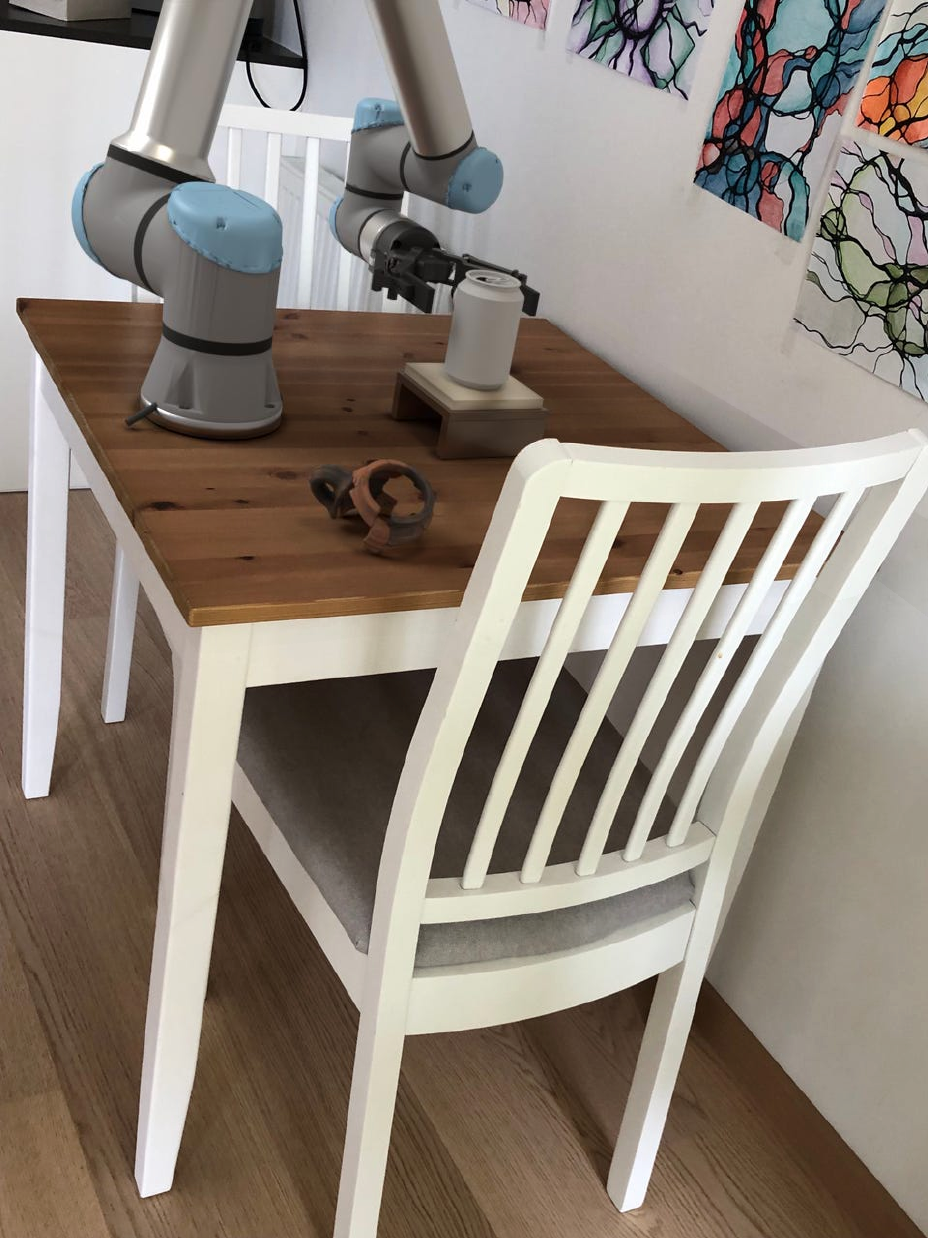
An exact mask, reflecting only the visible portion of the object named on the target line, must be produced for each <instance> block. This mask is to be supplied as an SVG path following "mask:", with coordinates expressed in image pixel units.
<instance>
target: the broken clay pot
mask: <svg viewBox="0 0 928 1238" xmlns="http://www.w3.org/2000/svg"><path fill="white" fill-rule="evenodd" d="M403 476H405V477H406V478H408V479H409V480H410V481H411V482H412V483H413V487H415V488H416V489H417V490H418V491H420V492H421V494H422V495H423V498H424V499H423V500H424V505H423V508H422V510H420V511H419V512H418V513H415V514H412V515H409V516H404V515H396V514H392V513H393V511H394V509H395V507H396V506H397V505H398V503H399V499H398V498H397V497H396V496H394V495H392V494H390V493H389V492H388V491H386V490H384V486H385V485H386V483H387V482H389V480H390V479H398V478H401V477H403ZM308 482H309V487H310V490H311V493H312V494H313V496H314V497H315V498H316V500H317V501H318V502H319V504H321V505H322V506H324V508H326V510H327V512H328V514H329V517H330V518H331V520H336V519H337V517H338V516H339V517H343V516H344V515H346V513H348V512H350V511H352V510H355V509H356V510H357V512H358V513H359V515H360V516H361V518H362V519H363V521H364V522H365V523H366V524H367V525H368V526H369V527H370V528H369V531H368V534H367V535H366V537H364V538H363V540H362V547H363V548H364V549H366V550H367V551H369V552H371V553H372V554H378V553H379V552H380V551H383V550H384V549H385V547H386V546H387V547H388V548H393V547H397V546H400V545H403V544H406V543H409V542H412V541H415V540H416V539H418V538H420V537H422V536H423V535H424V531H428V529H429V528H430V526H431V523H432V521H433V517H434V515H435V512H434V507H435V503H436V498H435V496H436V495H435V492H434V489H433V487H432V485H431V482H430V481H429V479H428V478H427V476H425V475H424V474H423V473H422V472H421V471H420V470H419V469H417V468H416V467H414V466H412V465H411V464H408V463H405V462H403V461H401V460H396V459H389V458H388V459H385V458H383V459H378V460H375V461H372V462H371V463H369V464H368V465H366V466H363V467H361V468H359V469H356V470H353V471H351V470H347V469H345V468H344V467H341V466H340V465H337V464H330V463H324V464H320V465H318V466H317V467H314V470H313V471H312V472H311V473H310V475H309V477H308ZM328 485H329V486H330V487H331V488H332V489H333V490H331V489H330V487H328ZM380 512H381V513H383V514H385V515H386V516H390V518H389V522H386V520H383V519H381V518H380V516H379V513H380Z"/></svg>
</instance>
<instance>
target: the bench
mask: <svg viewBox="0 0 928 1238" xmlns="http://www.w3.org/2000/svg"><path fill="white" fill-rule="evenodd" d="M444 364H445V362H406V363H405V365H404V366H405V367H404V370H397V372H396V379H395V385H394V386H395V387H394V392H393V397H392V400H393V401H392V405H391V411H390V412H391V413H390V416H391V417H392V418H393V419H395V421H396V420H398V421H399V420H437V419H439V420H440V419H441V425H440V430H439V436H438V442H437V447H436V455H435V456H437V457H438V458H439V459H441V460H458V459H482V458H503V457H504V458H505V457H507V458H508V457H517V456H516V455H517V454H518V452H519V451H520V450H521V449H523V448H524V447H525V446H527V445H528V444H530V443H533V442H535V441H537V440H539V439H542V440H543V439H544V434H545V430H546V425H547V420H548V416H549V412H550V410H549V409H547V408H546V407H544V406H543V405H544V402H545V401H544V400H545V399H544V398H543V397H542V396H540V395H539V394H537V392H535V391H533V390H532V389H530V388H529V387H528V386H526V385H525V384H524V383H522V382H521V381H519V380H517V379H516V378H515V377H513V376H512V375H510V374H509V378H508V381H506V382H505V383H503V384H502V385H500V386H499V387H498V388H495V389H476V388H470V387H467V386H463V385H461V384H458V383H456V382H454V381H453V380H451V378H450V377H449V375H448V373H447V372H446V371H445V370H444Z"/></svg>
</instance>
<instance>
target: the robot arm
mask: <svg viewBox="0 0 928 1238" xmlns="http://www.w3.org/2000/svg"><path fill="white" fill-rule="evenodd" d="M363 2H364V4H365V8H366V11H367V14H368V18H369V21H370V23H371V26H372V29H373V32H374V36H375V38H376V41H377V44H378V48H379V51H380V54H381V57H382V61H383V63H384V66H385V69H386V73H387V75H388V78H389V81H390V85H391V87H392V91H393V94H394V97H395V100H392V99H387V98H380V97H364V98H361V99H360V100H358V102H357V104H356V107H355V113H354V118H353V124H352V129H351V130H350V142H349V143H350V144H349V153H348V161H347V162H348V163H347V171H346V179H345V180H346V181H345V186H344V190H343V193H342V194H341V195H339V196H338V197H337V198H336V200H335V201H334V203H333V204H332V206H331V208H330V210H329V214H328V225H329V229H330V233H331V234H332V236H333V238H334V239H335V240H336V242H337V243H338V244H340V245H341V247H342V248H343V250H345V251H347V252H348V253H349V254H351V255H353V256H354V257H358V258H359V259H360V260H361V261H363V262H364V263H366V264H367V265H368V268H367V269H368V271H369V272H370V273H371V274H372V277H371V284H370V285H371V286H370V290H371V291H373V292H376V293H378V292H382V290H383V289H387V293H386V299H387V300H390V301H397V300H398V297H399V296H400V297H401V298H402V299H404V300H405V301H407V302H408V303H410V304H411V305H413V307H415V308H417V309H418V310H419V311H420V312H422V313H423V314H425V315H432V312H433V308H434V307H433V306H434V302H435V301H434V300H435V294H436V288H435V287H433V286H431V285H430V284H428V283H431V284H434V285H437V284H441V285H445V286H448V287H453V288H458V284H459V283H461V282H462V281H463V280H464V279H466V272H468V271H470V270H487V271H494V272H499V273H503V274H506V275H509V276H512V277H514V278H516V279H518V280H519V281H520V282H521V286H520V287H519V289H520V291H521V292H522V294H523V296H524V302H523V307H522V312H521V313H524V315H527V316H528V317H532V318H533V317H534V318H535V317H537V312H538V307H539V302H540V297H541V293H540V292H539V291H537V290H536V289H534V288H532V287H530V286H528V285H527V281H528V275H527V274H525V273H521V272H520V270H519V269H516V268H515V269H513V270H512V269H509V268H506V267H503V266H500V265H497V264H494V263H492V262H489V261H485V260H483V259H479V258H478V257H475V256H473V255H472V254H470V253H462V255H461V256H460V255H457V254H453V253H449V252H447V251H446V249H442V247H441V244H440V241H439V240H438V237H437V236H436V235H435V234H434V233H433V231H431V230H429V229H428V228H426V227H424V226H423V225H421V224H420V223H417V222H416V220H414V219H412V218H410V217H408V216H406V215H405V214H404V213H402V207H403V200H404V197H405V192H407V193H410V194H413V195H415V196H418V197H420V198H423V199H426V200H428V201H431V202H433V203H436V204H438V205H441V206H444V207H447V209H450V210H454V211H460V212H463V213H466V214H467V213H468V214H472V215H478V214H482V213H485V212H486V211H487V210H488V209H490V208H491V207H492V205H494V204H495V202H496V201H497V200H498V198H499V196H500V194H501V192H502V188H503V185H504V174H505V173H504V165H503V163H502V161H501V158H499V157H498V155H497V154H496V153H494V152H493V151H491V150H489V149H487V147H484V146H479V145H478V142H477V138H476V135H475V130H474V129H473V123H472V119H471V117H470V113H469V108H468V105H467V101H466V97H465V93H464V90H463V87H462V82H461V80H460V76H459V73H458V68H457V64H456V62H455V58H454V54H453V50H452V47H451V43H450V39H449V35H448V32H447V27H446V24H445V20H444V17H443V13H442V9H441V6H440V2H439V0H363ZM253 3H254V0H163V2H162V6H161V10H160V13H159V18H158V21H157V24H156V28H155V32H154V35H153V40H152V44H151V47H150V51H149V53H148V58H147V62H146V65H145V69H144V73H143V76H142V80H141V83H140V87H139V92H138V95H137V98H136V102H135V106H134V109H133V114H132V117H131V122H130V125H129V127H128V130H127V131H125V132H124V133H121V134H120V135H118V136H116V137H114V138H111V140H110V142H109V145H108V149H107V153H106V156H105V159H104V161H102V162H100V163H97V164H95V165H93V166H92V169H91V170H89V171H86V172H85V173H84V174H83V175H82V176H81V178H80V179H79V181H78V182H77V185H76V186H75V189H74V192H73V196H72V200H71V209H70V211H71V212H70V213H71V225H72V228H73V232H74V235H75V238H76V240H77V242H78V244H79V245H80V247H81V248H82V250H83V252H84V253H85V254H86V255H87V256H88V258H89V259H90V260H92V261H93V262H94V263H95V264H97V266H100V267H101V268H103V269H104V270H105V271H106V272H108V273H109V274H110V275H111V276H113V277H115V278H117V279H120V280H124V281H127V282H129V283H131V284H133V285H135V286H137V287H139V288H141V289H143V290H144V291H147V292H149V293H151V294H153V295H155V296H157V297H159V298H160V299H161V298H162V300H163V303H162V304H163V305H162V306H163V307H162V322H161V323H162V325H161V337H160V342H159V344H158V346H157V349H156V351H155V354H154V356H153V359H152V362H151V363H150V366H149V369H148V370H147V373H146V376H145V378H144V381H143V383H142V386H141V388H140V402H139V408H140V410H139V411H138V412H135V413H134V414H133V415H131V416H129V417H128V418H126V419H124V422H125V424H126V426H128V427H131V426H133V425H134V424H136V423H138V422H139V421H140V420H143V418H147V419H149V420H150V421H151V422H153V423H155V424H157V425H159V426H160V427H163V428H166V429H168V430H170V431H173V432H177V433H180V434H185V435H188V436H193V437H199V438H205V439H217V440H243V439H251V438H257V437H261V436H264V435H267V434H269V433H273V432H274V431H275V430H277V429H278V428H279V426H280V425H281V422H282V415H283V405H284V397H283V395H282V392H281V391H280V387H279V383H278V378H277V372H276V369H275V365H274V360H273V355H272V349H273V348H272V347H273V338H274V329H275V322H276V321H275V320H276V314H277V313H276V312H277V305H278V297H279V296H278V295H279V287H280V280H281V270H282V263H283V257H284V247H283V231H284V226H283V221H282V219H281V216H280V214H279V212H278V211H277V210H276V209H275V207H273V206H272V205H271V204H270V203H268V202H267V201H266V200H264V199H262V198H260V197H259V196H257V195H254V194H253V193H250V192H247V191H245V190H242V189H235V188H231V186H228V185H225V184H221V183H217V179H216V176H215V175H214V172H213V171H212V168H211V166H210V164H209V159H208V158H209V156H210V151H211V149H212V145H213V141H214V138H215V135H216V131H217V129H218V128H217V127H218V124H219V121H220V118H221V113H222V110H223V107H224V104H225V100H226V97H227V93H228V89H229V87H230V83H231V79H232V75H233V71H234V68H235V65H236V62H237V58H238V54H239V51H240V48H241V45H242V42H243V41H242V40H243V38H244V34H245V31H246V27H247V24H248V20H249V16H250V14H251V9H252V7H253ZM452 274H453V275H454V276H453V279H452V278H450V277H451V276H452Z"/></svg>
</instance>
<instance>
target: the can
mask: <svg viewBox="0 0 928 1238" xmlns="http://www.w3.org/2000/svg"><path fill="white" fill-rule="evenodd" d="M520 286H521V282H520V281H519V280H518V279H516V278H514V277H512V276H509V275H506V274H503V273H499V272H494V271H487V270H470V271H468V272H466V279H464V280H463V281H462V282H461V283H459V284H458V287H456V288H457V290H456V295H455V301H454V307H453V312H452V317H451V324H450V330H449V336H448V341H447V348H446V352H445V359H444V363H445V364H444V370H445V371H446V372H447V373H448V375H449V377H450V378H451V380H453V381H454V382H456V383H458V384H461V385H463V386H467V387H470V388H476V389H495V388H498V387H499V386H500V385H502V384H503V383H505V382H506V381H508V378H509V375H510V372H511V367H512V362H513V357H514V352H515V347H516V343H517V342H516V341H517V336H518V332H519V327H520V322H521V316H522V313H523V312H522V307H523V302H524V296H523V294H522V292H521V291H520V289H519V287H520Z"/></svg>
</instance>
